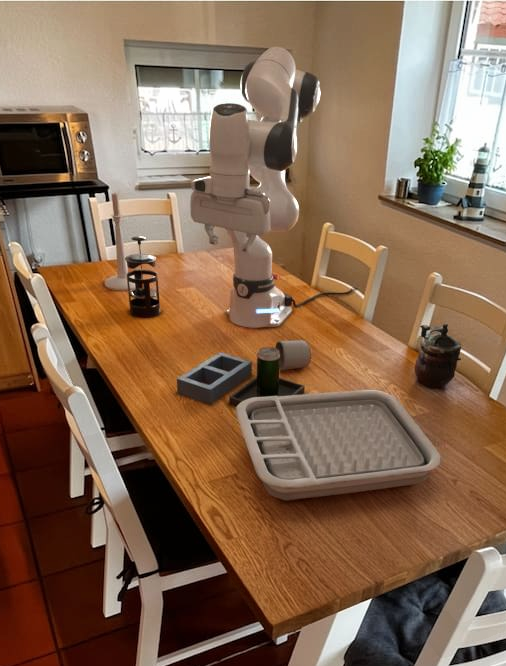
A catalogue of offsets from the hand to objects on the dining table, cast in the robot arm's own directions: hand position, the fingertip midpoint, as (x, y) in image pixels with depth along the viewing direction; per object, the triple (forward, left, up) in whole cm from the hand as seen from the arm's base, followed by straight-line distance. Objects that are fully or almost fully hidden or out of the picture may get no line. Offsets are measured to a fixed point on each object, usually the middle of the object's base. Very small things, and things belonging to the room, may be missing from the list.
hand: (230, 247), depth 140 cm
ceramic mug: (-9, +13, -31) cm, 35 cm away
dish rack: (+25, +42, -31) cm, 58 cm away
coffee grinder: (-21, +49, -31) cm, 62 cm away
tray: (+10, +17, -31) cm, 37 cm away
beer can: (+10, +17, -31) cm, 37 cm away
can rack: (+11, +3, -31) cm, 33 cm away
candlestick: (-30, -64, -31) cm, 77 cm away
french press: (-15, -42, -31) cm, 55 cm away
